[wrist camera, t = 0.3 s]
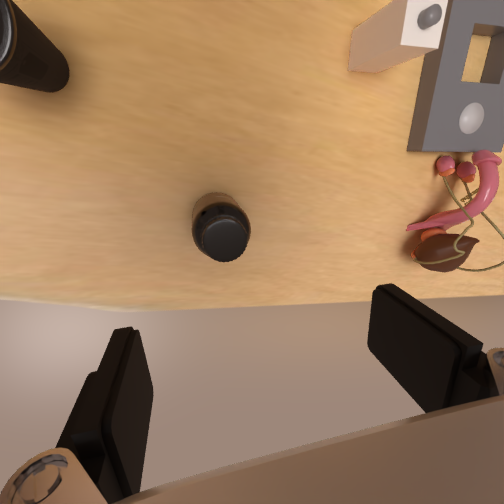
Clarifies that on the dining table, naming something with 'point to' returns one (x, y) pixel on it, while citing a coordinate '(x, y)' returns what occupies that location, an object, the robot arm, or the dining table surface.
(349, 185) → the dining table surface
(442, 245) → the anatomy model
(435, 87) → the block
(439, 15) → the white square peg
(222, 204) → the supplement bottle
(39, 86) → the drinking cup
